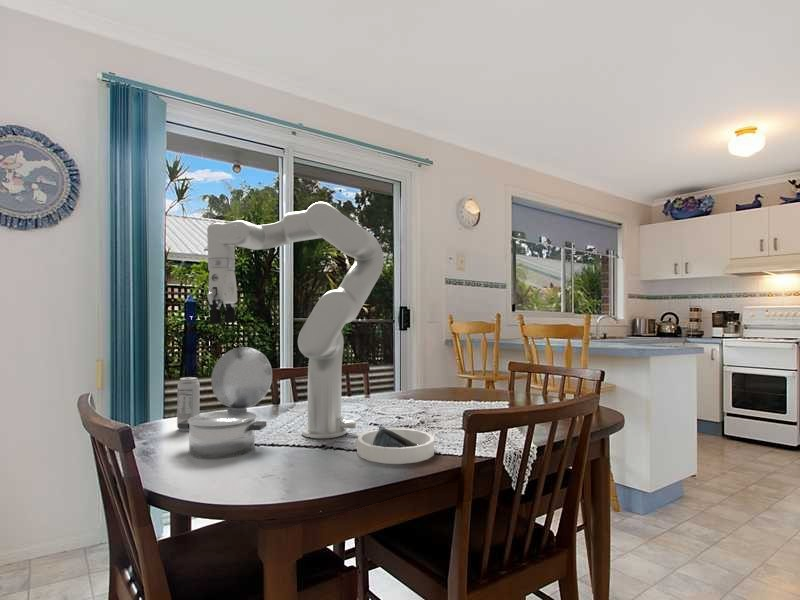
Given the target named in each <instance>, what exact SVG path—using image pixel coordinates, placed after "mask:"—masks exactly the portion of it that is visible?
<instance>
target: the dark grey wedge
mask: <svg viewBox="0 0 800 600" xmlns="http://www.w3.org/2000/svg"><path fill="white" fill-rule="evenodd" d="M378 429H379V431H378V433H377V434H376V436H375V438H374V442H373V445H375V446H381V447H398V448H401V447H412V446H417V444H415V443H413V442H411V441H409V440H407V439H405V438H403V437H402V436H400V435H398V434H396V433H394V432H392V431H390V430H388V429H389V428H386V427H384V426H381V425H380V426H378Z"/></svg>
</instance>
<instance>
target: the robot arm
mask: <svg viewBox="0 0 800 600" xmlns="http://www.w3.org/2000/svg"><path fill="white" fill-rule="evenodd" d="M206 230H207V234H206V235H207V236H206V237H207V263H208V264H207V268H208V271H209V272H208V293H207V294H206V296H207V303H208V310H209V324H211V325H215V324H216V325H218V324H219V325H220V324H222V322H223V321H222V320H223V319H222V309H220V308H221V306H222V304H223V307H224V308H225V309H224V310H223V316H224V323H225V324H230V323H231V324H232V323H236V303H237V302H238V288H237V279H236V273H235V271H236V261H235V260H236V257H235V256H236V255H235V247H240V248H246V249H249V250H253V251H254V250H255V251H256V250H265V249H272V248H278V247H282V246H286V245H289V244H292V243H296V242H297V243H298V242H303V241H309V240H316V239H317V240H318V239H323V240H324V241H326V242H328V244H330V245H332V246H333V247H334V248H336V249H337V250H338V251H340V252H342V254H344V255H346V256H348V257H351V258H352V259H354V261H353V265H351V267H350V269H348V271H347V273H346V274H345V275H344V278H343V279H342V282H341V283H340V285H339V286H338V287H337V288H336V289H331V290H328V291H327V292H325V293H324V294H323V295H322V296H321V297H320V298H319V300H318V301H317V302H316V304H315V306H314V307H313V309H312V311H311V313H310V314H309V316H308V317H307V319H306V321H305V322H304V324H303V326H302V328H301V329H300V331H299V334H298V337H297V346H298V347H297V348H298V349H299V352H300V353H301V354H302V355H303V356H304V357H306V358H308V366H307V426H306V427H304V428H302V429H301V434H302V436H304V437H305V438H309V437H310V438H311V439H332V438H338V437H339V438H340V437H342V436H344V435H346V433H347V430H348V429H353V430H354V429H355V430H356V428H357V422H356V421H354V420H351V419H350V420H346V419H344V417H345V416H344V415H342V374H343V373H342V370H343V369H342V365H343V354H344V342H345V341H344V335H343V332H342V330H343V328H344V327H345V325H346V324H349V323H351V322H353V321H354V320H355V319H357V317H358V315H359V313H360V312H361V309H362V307H363V306H364V305H365V302H366V301H367V299H368V297H369V296H370V294H371V292H372V290H373V288H374V287H375V285H376V283H377V282H378V280H379V278H380V276H381V274H382V271H383V268H384V262H385V261H384V260H385V258H384V252H383V249H382V246H381V244H380V242H379V241H378V240H377V238H376V237H375V236H374V235H373V234H372V233H371V232H369V231H368V230H366V229H365V228H363V227H362V226H361V225H359V224H357V223H356V222H355V221H354V220H352V219H351V218H349V217H347V216H346V215H345V214H343V213H342V212H340V210H339V209H337V208H336V207H334V206H333V205H331V204H330V203H328V202H325V201H318V202H315V203H312V204H311V205H310V206H309V207H308V208H307V209H306V210H305V209H304V210H300V211H291V212H287V213H285V214H284V216H283V218H282V219H281V220H279V221H276V222H273V223H267V224H260V225H259V224H258V225H257V224H254V223H251V222H249V221H246V220H233V221H229V222H225V223H223V222H215V223H210V224H209V225H207V229H206Z"/></svg>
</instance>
